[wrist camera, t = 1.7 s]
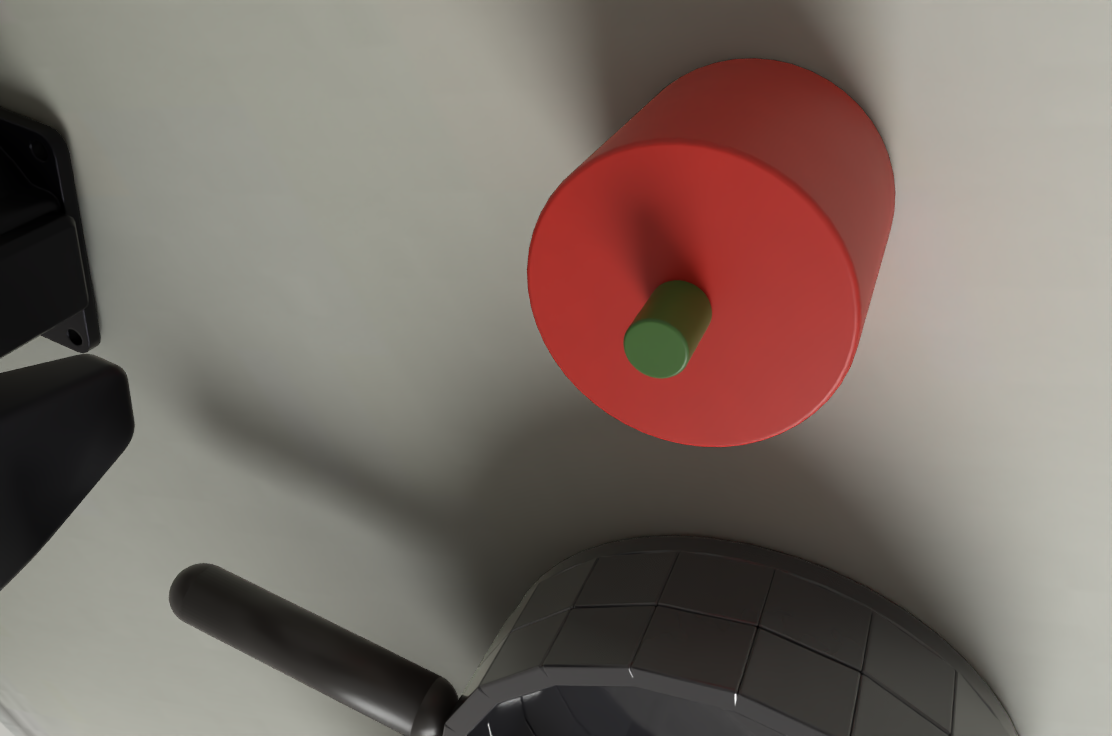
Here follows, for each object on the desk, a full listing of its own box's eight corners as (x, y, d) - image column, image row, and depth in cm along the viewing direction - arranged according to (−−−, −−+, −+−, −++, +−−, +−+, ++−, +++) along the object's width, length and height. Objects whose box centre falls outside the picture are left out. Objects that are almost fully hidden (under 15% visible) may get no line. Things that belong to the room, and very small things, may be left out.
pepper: (598, 268, 18) (471, 420, 14) (653, 21, 15) (513, 119, 11) (836, 356, 17) (776, 548, 13) (944, 107, 14) (912, 252, 10)
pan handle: (199, 580, 25) (158, 621, 24) (196, 541, 25) (152, 582, 23) (467, 714, 24) (436, 766, 22) (473, 677, 23) (442, 730, 21)
